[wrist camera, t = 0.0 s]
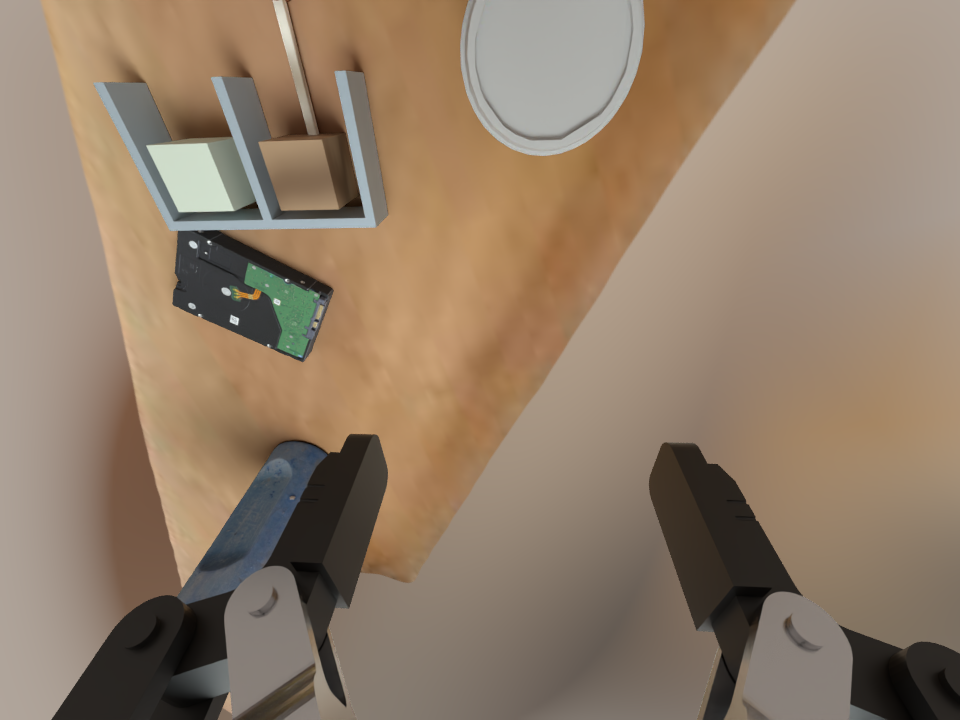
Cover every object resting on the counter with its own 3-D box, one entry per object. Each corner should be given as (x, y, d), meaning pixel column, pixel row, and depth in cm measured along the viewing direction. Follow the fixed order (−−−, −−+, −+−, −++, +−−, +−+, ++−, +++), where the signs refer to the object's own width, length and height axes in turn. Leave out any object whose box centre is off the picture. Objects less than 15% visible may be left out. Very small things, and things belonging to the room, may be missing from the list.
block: (190, 138, 33) (145, 145, 29) (243, 136, 33) (206, 143, 29) (215, 198, 36) (178, 212, 32) (265, 197, 36) (234, 211, 32)
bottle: (292, 480, 63) (157, 727, 39) (261, 441, 57) (80, 701, 33) (344, 476, 61) (237, 731, 37) (318, 436, 55) (171, 705, 31)
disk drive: (189, 295, 43) (313, 351, 47) (171, 306, 41) (303, 364, 44) (195, 215, 38) (336, 286, 41) (175, 223, 35) (326, 297, 39)
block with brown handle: (236, -47, 26) (146, -90, 19) (306, -52, 25) (237, -98, 19) (307, 196, 35) (262, 220, 29) (358, 195, 35) (324, 219, 28)
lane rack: (136, 83, 31) (93, 82, 27) (363, 72, 29) (345, 70, 26) (199, 218, 37) (170, 230, 34) (388, 214, 36) (376, 227, 32)
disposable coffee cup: (476, 137, 31) (462, 160, 22) (473, -22, 26) (451, -87, 16) (591, 135, 31) (628, 158, 21) (613, -28, 25) (677, -99, 16)
